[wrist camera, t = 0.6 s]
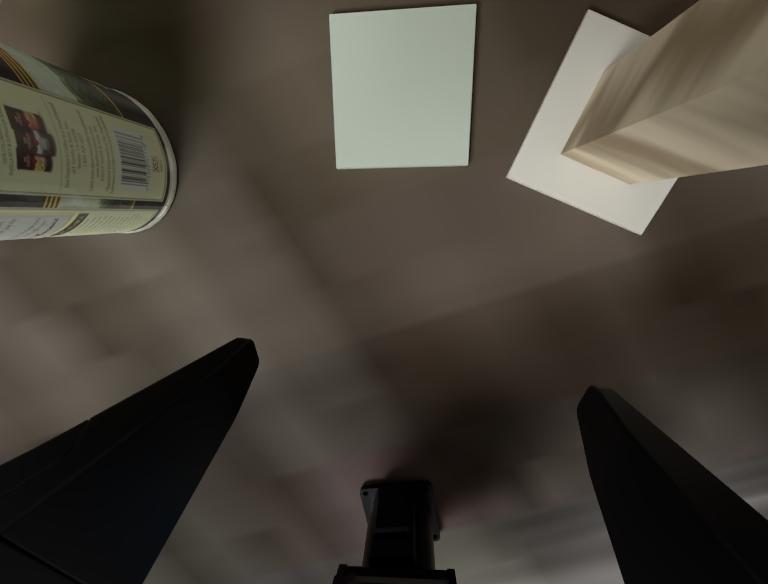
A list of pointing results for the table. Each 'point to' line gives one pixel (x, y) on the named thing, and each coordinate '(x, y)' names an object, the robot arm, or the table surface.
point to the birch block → (683, 99)
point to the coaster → (403, 86)
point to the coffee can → (77, 155)
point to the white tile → (557, 120)
